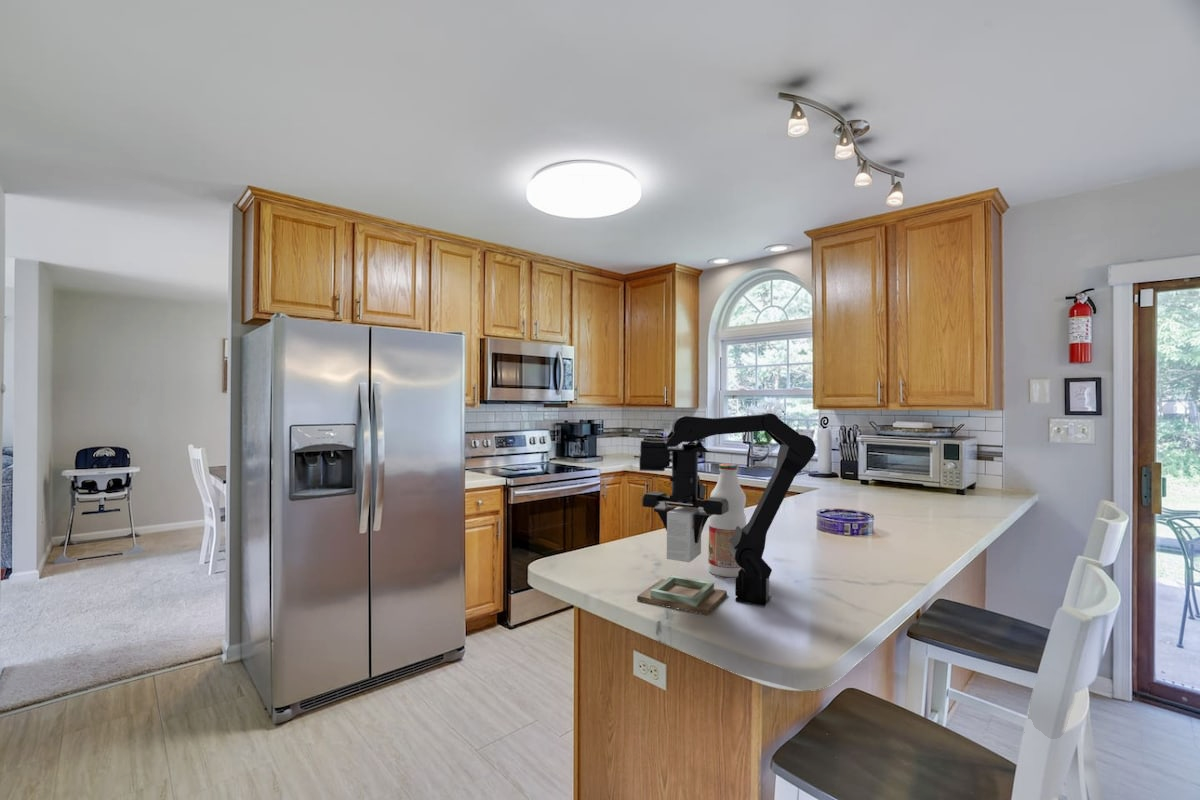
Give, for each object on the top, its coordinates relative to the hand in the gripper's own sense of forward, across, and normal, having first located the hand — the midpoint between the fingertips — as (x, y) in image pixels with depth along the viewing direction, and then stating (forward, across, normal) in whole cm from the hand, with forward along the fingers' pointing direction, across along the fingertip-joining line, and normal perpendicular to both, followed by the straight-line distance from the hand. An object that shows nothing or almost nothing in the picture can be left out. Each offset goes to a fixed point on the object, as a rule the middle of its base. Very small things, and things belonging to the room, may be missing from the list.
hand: (684, 541), depth 125 cm
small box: (+4, 0, 0) cm, 4 cm away
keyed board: (+13, 0, 0) cm, 13 cm away
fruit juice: (+13, -3, -24) cm, 27 cm away
